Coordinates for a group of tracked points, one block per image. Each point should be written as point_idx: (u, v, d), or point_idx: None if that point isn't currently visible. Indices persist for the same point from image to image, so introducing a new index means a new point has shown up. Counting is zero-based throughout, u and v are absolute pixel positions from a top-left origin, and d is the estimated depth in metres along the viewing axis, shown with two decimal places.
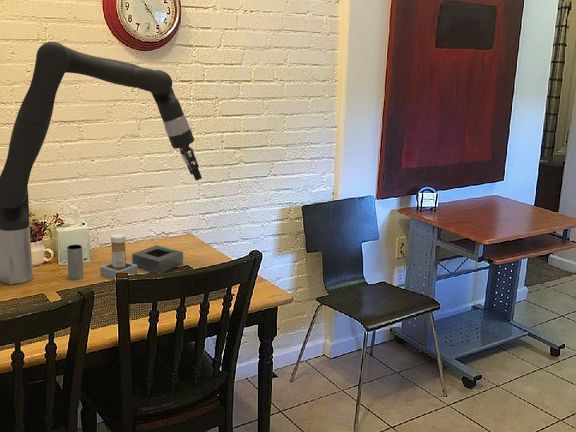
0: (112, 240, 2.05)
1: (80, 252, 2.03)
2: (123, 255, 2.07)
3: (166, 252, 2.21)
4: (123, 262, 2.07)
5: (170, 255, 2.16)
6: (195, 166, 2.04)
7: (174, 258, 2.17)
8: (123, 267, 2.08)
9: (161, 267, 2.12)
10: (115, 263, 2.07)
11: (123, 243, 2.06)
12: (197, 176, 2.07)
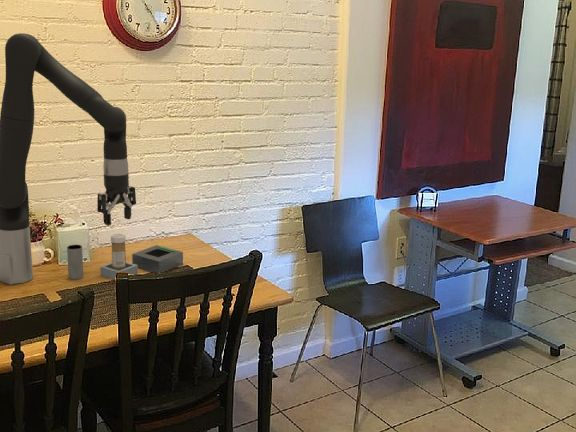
0: (112, 240, 2.05)
1: (80, 252, 2.03)
2: (123, 255, 2.07)
3: (166, 252, 2.21)
4: (123, 262, 2.07)
5: (170, 255, 2.16)
6: (100, 211, 1.98)
7: (174, 258, 2.17)
8: (123, 267, 2.08)
9: (161, 267, 2.12)
10: (115, 263, 2.07)
11: (123, 243, 2.06)
12: (105, 221, 2.00)
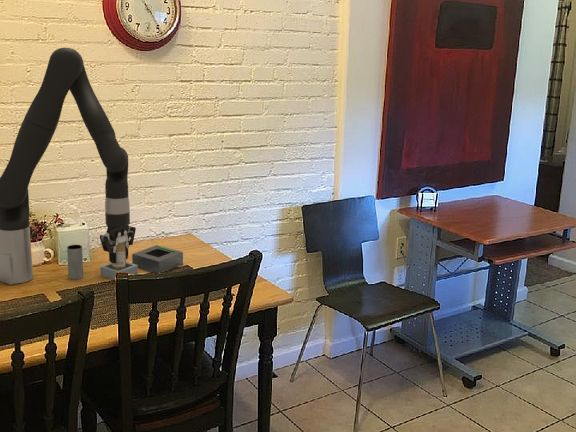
0: None
1: (80, 252, 2.03)
2: (123, 255, 2.07)
3: (166, 252, 2.21)
4: (123, 262, 2.07)
5: (170, 255, 2.16)
6: (106, 250, 2.03)
7: (174, 258, 2.17)
8: (123, 267, 2.08)
9: (161, 267, 2.12)
10: (115, 263, 2.07)
11: (123, 243, 2.06)
12: (110, 259, 2.05)
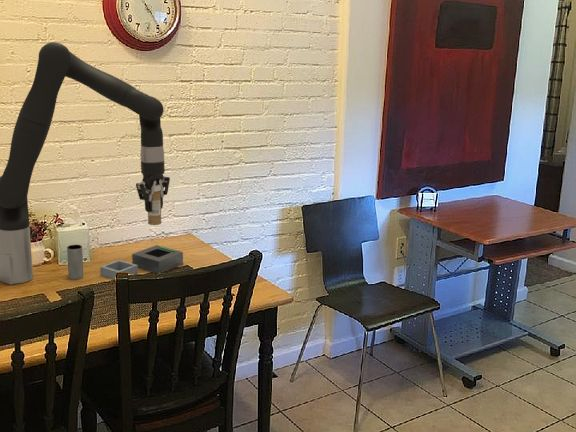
0: None
1: (80, 252, 2.03)
2: (158, 204, 2.11)
3: (166, 252, 2.21)
4: (158, 211, 2.12)
5: (170, 255, 2.16)
6: (142, 198, 2.07)
7: (174, 258, 2.17)
8: (159, 216, 2.12)
9: (161, 267, 2.12)
10: (151, 212, 2.11)
11: (158, 192, 2.10)
12: (146, 208, 2.10)
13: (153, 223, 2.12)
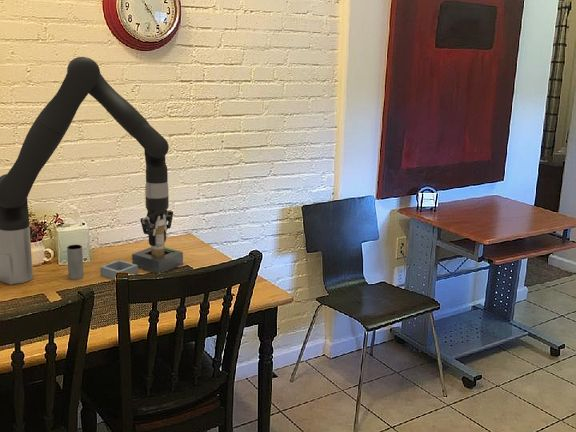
0: None
1: (80, 252, 2.03)
2: (162, 238, 2.16)
3: (166, 252, 2.21)
4: (162, 245, 2.16)
5: (170, 255, 2.16)
6: (147, 232, 2.12)
7: (174, 258, 2.17)
8: (162, 250, 2.17)
9: (161, 267, 2.12)
10: None
11: (162, 226, 2.15)
12: (150, 242, 2.14)
13: (156, 256, 2.16)
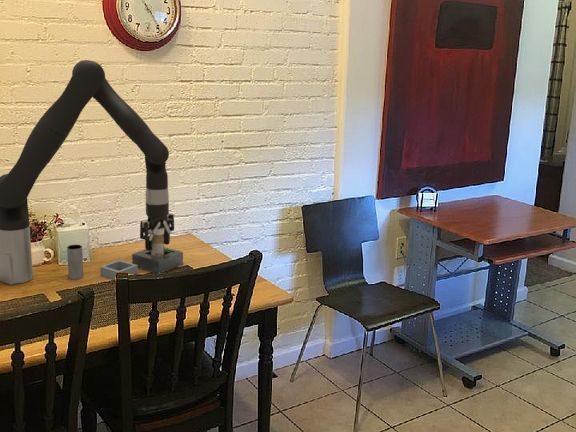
0: None
1: (80, 252, 2.03)
2: (162, 247, 2.16)
3: (166, 252, 2.21)
4: (161, 253, 2.17)
5: (170, 255, 2.16)
6: (143, 237, 2.10)
7: (174, 258, 2.17)
8: None
9: (161, 267, 2.12)
10: (154, 254, 2.16)
11: (162, 235, 2.15)
12: (146, 247, 2.13)
13: None
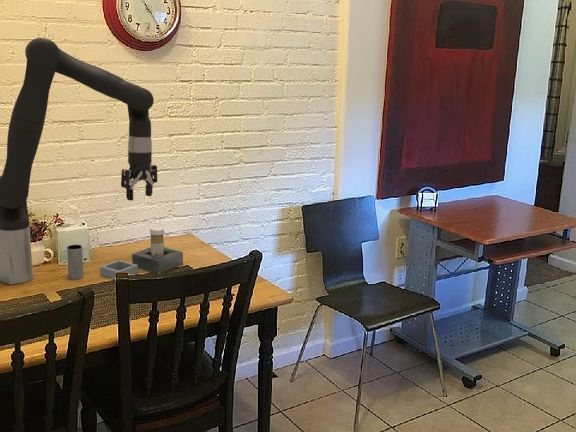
0: (151, 232, 2.14)
1: (80, 252, 2.03)
2: (161, 247, 2.16)
3: (166, 252, 2.21)
4: (161, 253, 2.17)
5: (170, 255, 2.16)
6: (124, 186, 2.06)
7: (174, 258, 2.17)
8: None
9: (161, 267, 2.12)
10: (154, 254, 2.16)
11: (162, 235, 2.15)
12: (127, 196, 2.09)
13: None
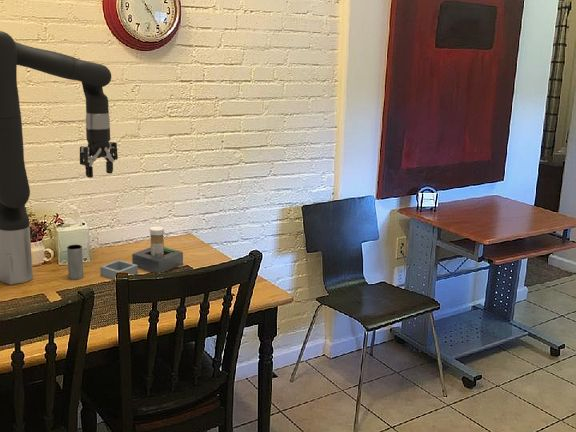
0: (151, 232, 2.14)
1: (80, 252, 2.03)
2: (161, 247, 2.16)
3: (166, 252, 2.21)
4: (161, 253, 2.17)
5: (170, 255, 2.16)
6: (83, 163, 2.06)
7: (174, 258, 2.17)
8: None
9: (161, 267, 2.12)
10: (154, 254, 2.16)
11: (162, 235, 2.15)
12: (87, 173, 2.09)
13: None
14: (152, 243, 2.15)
